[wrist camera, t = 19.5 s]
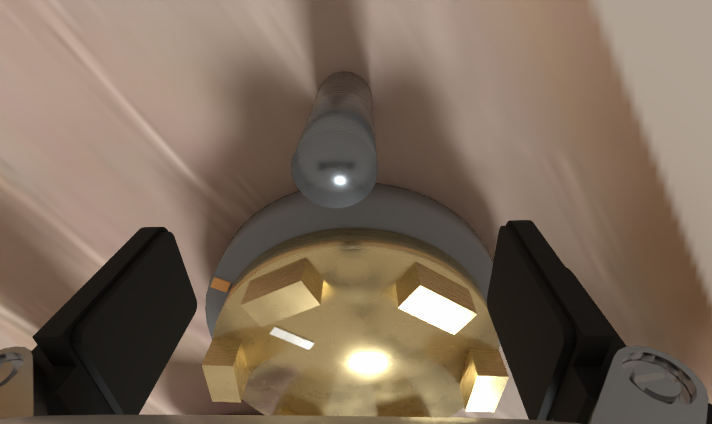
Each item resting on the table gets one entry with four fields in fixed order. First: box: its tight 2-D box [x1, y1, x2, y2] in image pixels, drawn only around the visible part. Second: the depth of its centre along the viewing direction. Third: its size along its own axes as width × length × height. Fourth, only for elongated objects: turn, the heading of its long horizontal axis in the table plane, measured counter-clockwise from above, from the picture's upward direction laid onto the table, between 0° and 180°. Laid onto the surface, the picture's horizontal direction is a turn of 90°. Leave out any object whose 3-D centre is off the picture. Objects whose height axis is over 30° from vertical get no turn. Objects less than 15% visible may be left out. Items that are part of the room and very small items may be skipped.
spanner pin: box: [291, 72, 378, 208], centre depth 18 cm, size 3×3×10 cm
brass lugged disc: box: [202, 228, 509, 417], centre depth 26 cm, size 20×20×4 cm
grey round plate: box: [205, 183, 500, 346], centre depth 30 cm, size 23×23×3 cm
